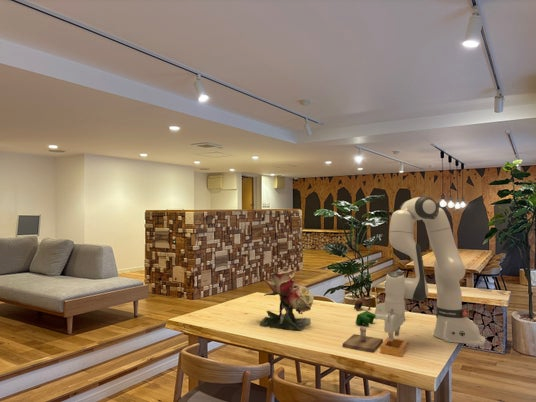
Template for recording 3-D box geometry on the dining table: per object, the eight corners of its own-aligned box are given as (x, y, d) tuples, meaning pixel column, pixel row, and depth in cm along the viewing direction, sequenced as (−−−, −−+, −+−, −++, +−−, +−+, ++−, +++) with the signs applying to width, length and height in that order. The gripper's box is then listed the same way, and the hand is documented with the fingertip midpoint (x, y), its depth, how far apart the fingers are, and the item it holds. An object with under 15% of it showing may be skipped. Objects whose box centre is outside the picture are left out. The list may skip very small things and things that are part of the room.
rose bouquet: (310, 332, 199) (310, 272, 200) (256, 326, 208) (256, 270, 209) (320, 319, 223) (320, 266, 224) (271, 314, 233) (271, 263, 233)
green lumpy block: (365, 334, 210) (365, 321, 206) (355, 329, 214) (355, 316, 210) (376, 321, 218) (377, 308, 214) (366, 317, 221) (367, 304, 218)
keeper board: (382, 342, 184) (382, 324, 184) (373, 352, 170) (373, 333, 171) (353, 337, 191) (353, 320, 192) (342, 347, 177) (342, 328, 178)
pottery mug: (355, 307, 253) (362, 296, 253) (367, 316, 248) (374, 304, 248) (349, 306, 243) (356, 294, 243) (362, 315, 238) (369, 303, 238)
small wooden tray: (407, 347, 177) (407, 340, 177) (401, 356, 166) (401, 349, 166) (387, 343, 182) (387, 337, 182) (380, 352, 170) (380, 345, 171)
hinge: (373, 318, 225) (374, 300, 228) (374, 319, 229) (375, 301, 232) (404, 321, 218) (404, 303, 221) (405, 322, 222) (405, 304, 225)
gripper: (395, 313, 170) (395, 345, 169) (407, 304, 187) (406, 333, 186) (381, 311, 173) (380, 342, 173) (393, 302, 190) (393, 331, 190)
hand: (394, 338), depth 180 cm, fingers open, 8 cm apart
